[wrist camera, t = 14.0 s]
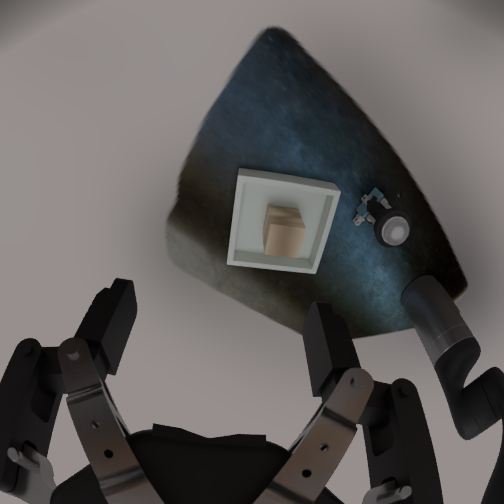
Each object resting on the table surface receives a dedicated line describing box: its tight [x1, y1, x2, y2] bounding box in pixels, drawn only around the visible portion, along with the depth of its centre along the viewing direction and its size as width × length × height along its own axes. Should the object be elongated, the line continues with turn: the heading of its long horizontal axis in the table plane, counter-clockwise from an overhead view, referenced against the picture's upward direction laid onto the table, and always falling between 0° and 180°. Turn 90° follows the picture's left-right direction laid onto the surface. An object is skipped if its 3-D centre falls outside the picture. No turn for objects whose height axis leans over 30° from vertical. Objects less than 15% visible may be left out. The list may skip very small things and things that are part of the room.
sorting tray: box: [227, 168, 341, 274], centre depth 39 cm, size 14×14×4 cm
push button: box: [353, 188, 411, 247], centre depth 35 cm, size 7×5×10 cm
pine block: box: [262, 205, 306, 258], centre depth 38 cm, size 4×4×6 cm
